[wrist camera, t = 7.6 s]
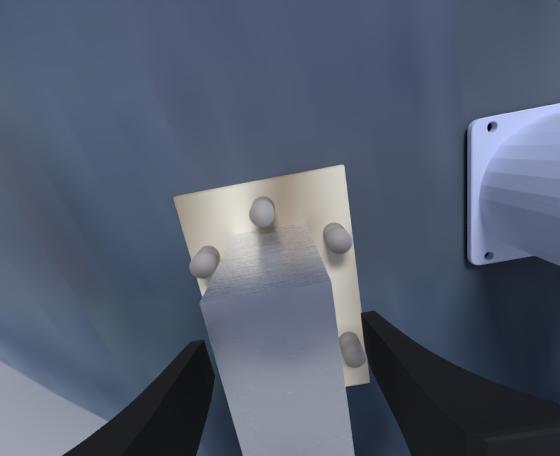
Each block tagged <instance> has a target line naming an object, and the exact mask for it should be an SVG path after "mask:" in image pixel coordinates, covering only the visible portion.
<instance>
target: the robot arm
mask: <svg viewBox="0 0 560 456" xmlns="http://www.w3.org/2000/svg"><path fill="white" fill-rule="evenodd" d="M489 123H491V125H492V127H491V130H490V131H488V130H487V126H488V124H489ZM487 252H489V253H488V255H487V257H485V258H484V256H485V254H486V253H487ZM530 256H537V257H539V258H541V259H544V260H546V261H549V262H551V263H554V264H556V265H558V266H560V103H558V104H553V105H548V106H542V107H537V108H532V109H527V110H522V111H516V112H511V113H506V114H501V115H496V116H490V117H485V118H480V119H476V120H474V121H472V122H471V123H470V125H469V127H468V131H467V258H468V261H469V262H471V263H472V264H474V265H484V264H490V263H495V262H501V261H507V260H513V259H518V258H524V257H530ZM360 314H361V322H362V330H363V339H364V347H365V353H366V355H367V358H368V361H369V364H370V366H371V369H372V372H373V374H374V376H375V378H376V380H377V382H378V384H379V386H380V388H381V390H382V392H383V394H384V396H385V398H386V400H387V402H388V404H389V406H390V408H391V410H392V412H393V414H394V416H395V418H396V420H397V422H398V425H399V427H400V429H401V431H402V433H403V436H404V438H405V440H406V443H407V446H408V448H409V451H410V453H411V456H560V405H559V404H557V403H554V402H550V401H547V400H544V399H541V398H538V397H535V396H531V395H528V394H525V393H522V392H519V391H516V390H513V389H511V388H508V387H505V386H503V385H500V384H497V383H495V382H492V381H490V380H487V379H485V378H482V377H480V376H478V375H476V374H474V373H471V372H469V371H467V370H465V369H463V368H461V367H458V366H456V365H454V364H452V363H451V362H449V361H447V360H445V359H443V358H441V357H439V356H438V355H436V354H434V353H432V352H431V351H429V350H427V349H426V348H424V347H423V346H421V345H420V344H418V343H416V342H415V341H413V340H412V339H411V338H409V337H408V336H406V335H405V334H404V333H402V332H401V331H399V330H398V329H397V328H395V327H394V326H393V325H392V324H390V323H389V322H388V321H386V320H385V319H384V318H383V317H381V316H380V315H379V314H378V313H376V312H375V311H370V312H364V313H360ZM214 378H215V375H214V372H213V368H212V365H211V362H210V359H209V355H208V352H207V349H206V346H205V342H204V340H199V341H193V342H190V343H189V344H188V345H187V346H186V347H185V348H184V349H183V350H182V351H181V352H180V354H179V355H178V356H177V357H176V358H175V359H174V360H173V361H172V362H171V363H170V364H169V365H168V367H167V368H166V369H165V370H164V371H163V372H162V373H161V374H160V375H159V376H158V377H157V378H156V379H155V380H154V381H153V382H152V383H151V384H150V385H149V386H148V387H147V388H146V389H145V390H144V391H143V392H142V393H141V394H140V395H139V396H138V397H137V398H136V399H135V400H134V401H133V402H131V403H130V404H129V405H128V406H127V407H126V408H125V409H123V410H122V411H121V412H120V413H119V414H118V415H116V416H115V417H114V418H113V419H112V420H110V421H109V422H108V423H106V424H105V425H104V426H103V427H101V428H100V429H99V430H97V431H96V432H95V433H94V434H92V435H91V436H90V437H88V438H87V439H86V440H84V441H83V442H81V443H80V444H79V445H77V446H76V447H74V448H73V449H71V450H70V451H68V452H67V453H65V454H64V455H63V456H196V454H197V450H198V447H199V443H200V439H201V436H202V432H203V429H204V425H205V421H206V418H207V414H208V410H209V406H210V403H211V398H212V392H213V385H214Z"/></svg>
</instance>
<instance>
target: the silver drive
mask: <svg viewBox="0 0 560 456" xmlns="http://www.w3.org/2000/svg"><path fill="white" fill-rule="evenodd" d="M199 304H200V307H201V311H202V314H203V318H204V321H205V325H206V328H207V332H208V335H209V339H210V342H211V346H212V349H213V353H214V356H215V360H216V363H217V367H218V370H219V374H220V377H221V381H222V384H223V388H224V391H225V395H226V398H227V402H228V405H229V409H230V412H231V415H232V419H233V422H234V426H235V429H236V433H237V436H238V440H239V443H240V447H241V450H242V454H243V456H355V454H354V447H353V440H352V432H351V425H350V417H349V410H348V402H347V395H346V388H345V380H344V373H343V365H342V358H341V350H340V343H339V335H338V328H337V321H336V313H335V306H334V298H333V291H332V283H331V280H330V277H329V275H328V273H327V270H326V268H325V266H324V263H323V261H322V259H321V256H320V254H319V252H318V249H317V247H316V245H315V242H314V240H313V238H312V235H311V233H310V231H309V228H308V226H307V223H306V222H303V223H297V224H291V225H286V226H280V227H274V228H268V229H262V230H256V231H251V232H245V233H239V234H233V236H232V238H231V240H230V242H229V244H228V246H227V248H226V250H225V252H224V254H223V256H222V258H221V260H220V262H219V264H218V266H217V269H216V271H215V273H214V275H213V277H212V279H211V281H210V283H209V285H208V287H207V289H206V291H205V293H204V295H203V297H202V299H201V301H200V303H199Z"/></svg>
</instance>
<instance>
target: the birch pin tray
mask: <svg viewBox="0 0 560 456" xmlns="http://www.w3.org/2000/svg"><path fill="white" fill-rule="evenodd" d="M173 199H174V202H175V205H176V209H177V212H178V216H179V219H180V222H181V226H182V229H183V233H184V236H185V239H186V243H187V246H188V250H189V253H190V256H191V260H192V261H191V262H190V265H189V269H190V272H191V273H192V274H193V275H194V276H195V277H197V280H198V284H199V287H200V290H201V294H202V297H203V295H204V293H205V291H206V289H207V287H208V285H209V283H210V281H211V279H212V277H213V275H214V273H215V271H216V269H217V266H218V264H219V262H220V260H221V258H222V256H223V254H224V252H225V250H226V248H227V246H228V244H229V242H230V240H231V238H232V236H233V234H239V233H245V232H251V231H256V230H262V229H268V228H274V227H280V226H286V225H291V224H297V223H303V222H306V223H307V226H308V228H309V231H310V233H311V235H312V238H313V240H314V242H315V245H316V247H317V249H318V252H319V254H320V256H321V259H322V261H323V263H324V266H325V268H326V270H327V273H328V275H329V277H330V280H331V283H332V291H333V298H334V306H335V313H336V321H337V328H338V335H339V343H340V350H341V358H342V365H343V373H344V380H345V387H346V386H352V385H358V384H364V383H370V380H369V371H368V363H367V355H366V353H365V347H364V339H363V330H362V322H361V314H360V313H362V312H361V304H360V295H359V287H358V278H357V270H356V262H355V253H354V245H353V236H352V228H351V219H350V211H349V203H348V194H347V186H346V177H345V169H344V165H337V166H332V167H326V168H321V169H316V170H311V171H305V172H300V173H295V174H290V175H284V176H279V177H274V178H268V179H263V180H258V181H253V182H247V183H242V184H237V185H231V186H226V187H221V188H216V189H210V190H205V191H200V192H195V193H189V194H184V195H179V196H176V197H174V198H173Z"/></svg>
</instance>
